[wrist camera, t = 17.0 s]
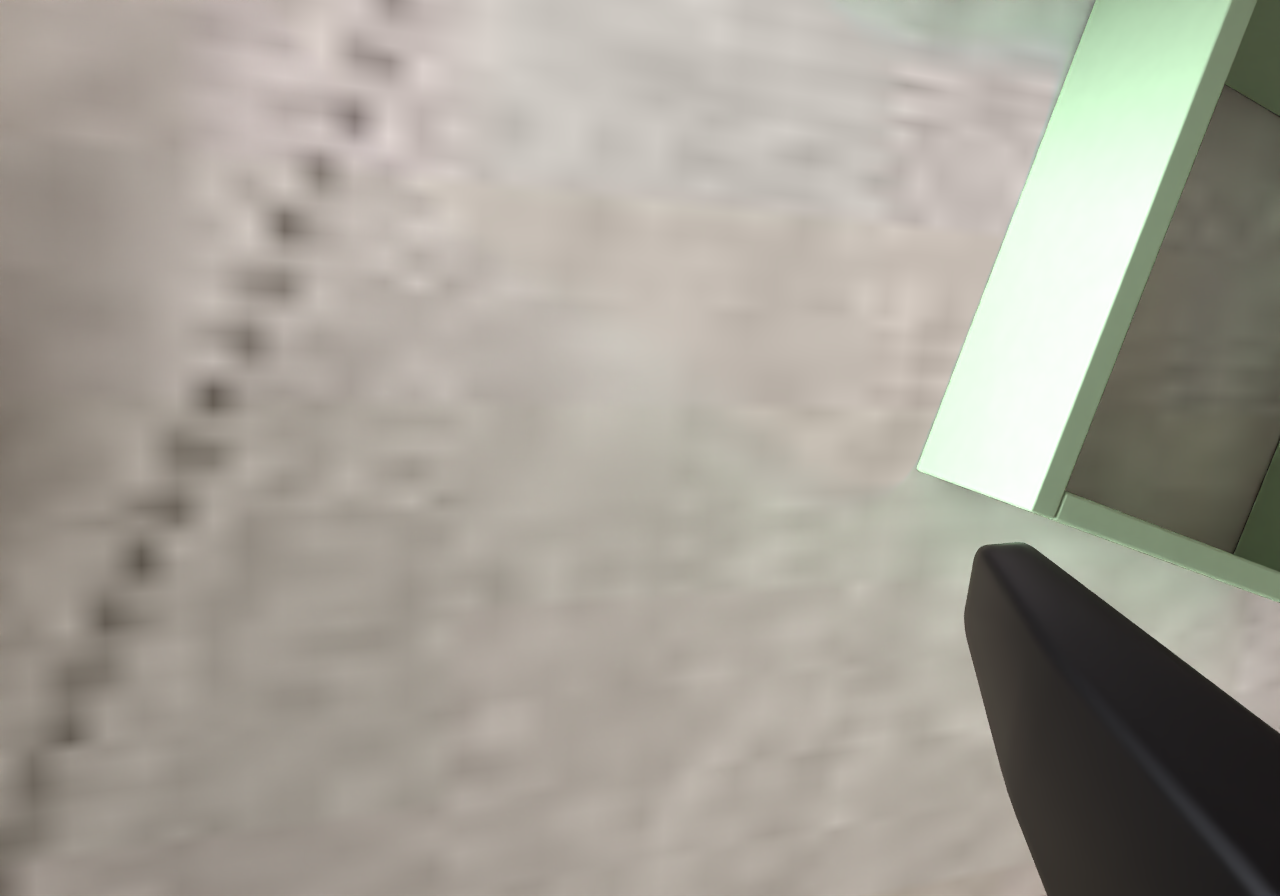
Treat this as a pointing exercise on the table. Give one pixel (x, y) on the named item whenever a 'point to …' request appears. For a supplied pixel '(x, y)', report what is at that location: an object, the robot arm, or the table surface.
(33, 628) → the table surface
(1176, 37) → the green open tray
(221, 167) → the table surface
